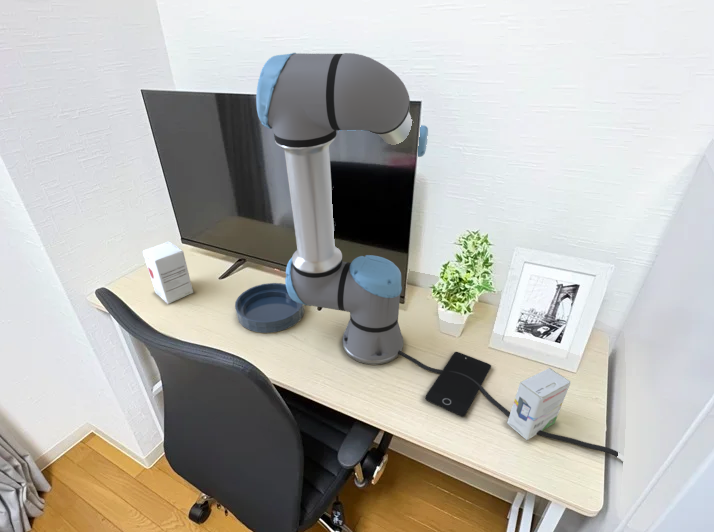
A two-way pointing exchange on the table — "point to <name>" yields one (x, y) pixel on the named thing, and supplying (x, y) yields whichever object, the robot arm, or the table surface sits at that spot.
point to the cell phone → (458, 383)
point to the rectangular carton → (168, 271)
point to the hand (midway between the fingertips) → (314, 261)
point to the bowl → (268, 308)
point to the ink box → (538, 402)
